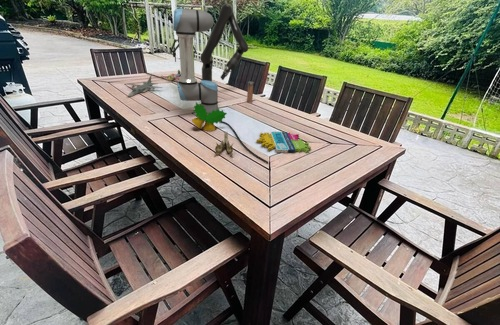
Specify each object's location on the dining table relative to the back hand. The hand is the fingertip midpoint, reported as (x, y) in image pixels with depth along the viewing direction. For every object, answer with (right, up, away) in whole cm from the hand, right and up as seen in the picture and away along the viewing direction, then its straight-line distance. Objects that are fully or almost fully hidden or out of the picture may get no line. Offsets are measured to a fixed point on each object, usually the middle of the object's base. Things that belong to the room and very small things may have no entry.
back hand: (221, 78), depth 232 cm
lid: (+26, -9, -18) cm, 33 cm away
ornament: (0, -53, -68) cm, 86 cm away
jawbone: (+12, -69, -94) cm, 117 cm away
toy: (-55, +15, +48) cm, 74 cm away
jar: (+25, -23, -10) cm, 35 cm away
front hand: (-28, +7, -21) cm, 36 cm away
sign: (+44, -63, -80) cm, 111 cm away
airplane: (-69, -12, -3) cm, 70 cm away
